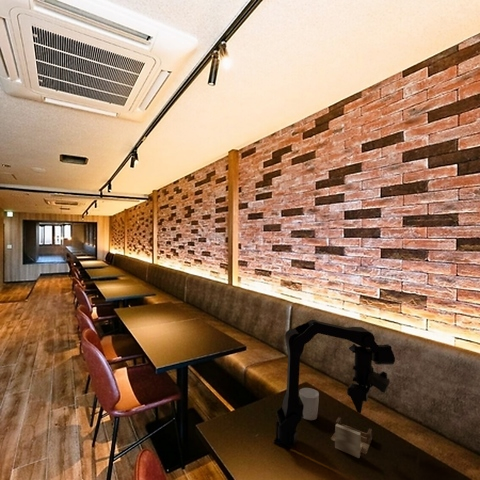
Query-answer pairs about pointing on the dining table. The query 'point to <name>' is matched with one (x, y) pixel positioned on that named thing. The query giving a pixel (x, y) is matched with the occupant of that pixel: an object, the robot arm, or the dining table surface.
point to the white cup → (309, 403)
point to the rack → (365, 437)
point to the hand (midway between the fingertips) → (362, 406)
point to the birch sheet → (347, 440)
